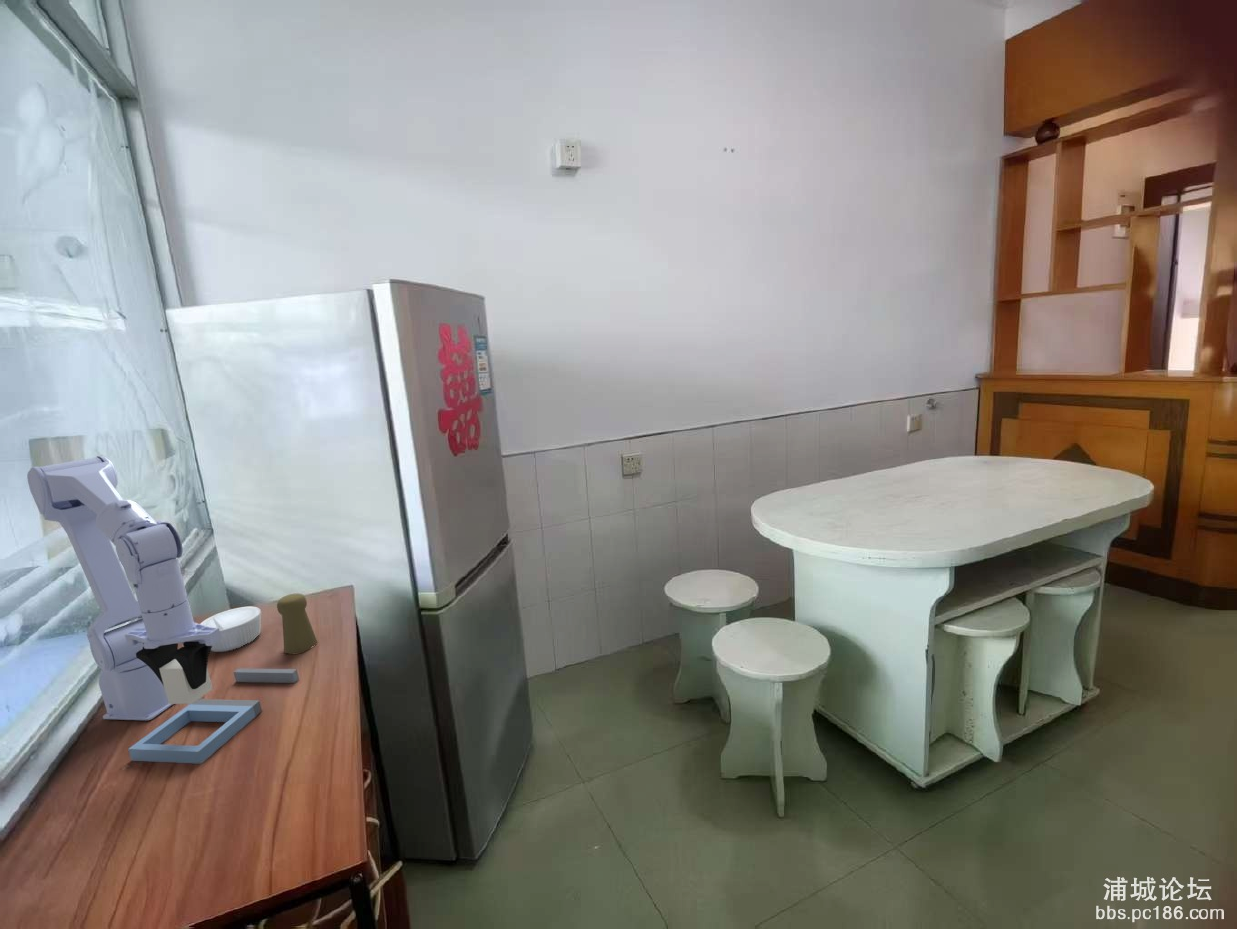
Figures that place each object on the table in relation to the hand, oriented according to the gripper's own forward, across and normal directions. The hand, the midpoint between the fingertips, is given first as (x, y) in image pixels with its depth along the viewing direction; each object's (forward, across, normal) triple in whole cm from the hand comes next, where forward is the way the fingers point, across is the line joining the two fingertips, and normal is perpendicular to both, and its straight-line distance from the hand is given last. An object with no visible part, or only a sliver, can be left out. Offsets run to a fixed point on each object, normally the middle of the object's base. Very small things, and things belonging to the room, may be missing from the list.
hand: (186, 685), depth 90 cm
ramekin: (+9, -19, +29) cm, 36 cm away
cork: (+9, -2, +27) cm, 28 cm away
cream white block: (+2, 0, 0) cm, 2 cm away
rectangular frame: (+9, 0, +5) cm, 10 cm away
